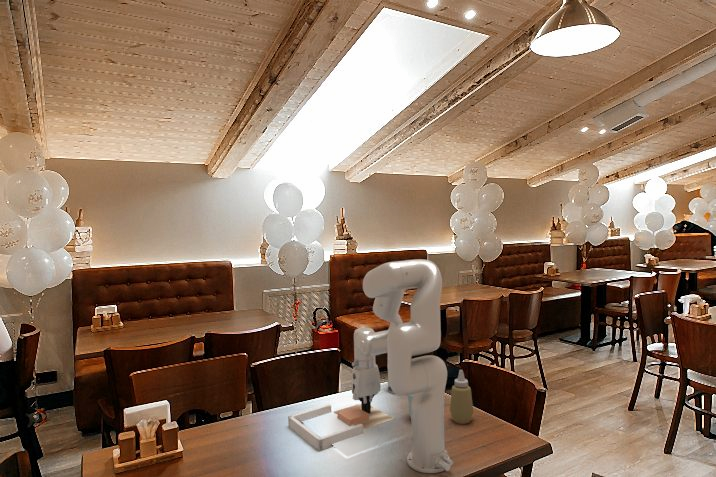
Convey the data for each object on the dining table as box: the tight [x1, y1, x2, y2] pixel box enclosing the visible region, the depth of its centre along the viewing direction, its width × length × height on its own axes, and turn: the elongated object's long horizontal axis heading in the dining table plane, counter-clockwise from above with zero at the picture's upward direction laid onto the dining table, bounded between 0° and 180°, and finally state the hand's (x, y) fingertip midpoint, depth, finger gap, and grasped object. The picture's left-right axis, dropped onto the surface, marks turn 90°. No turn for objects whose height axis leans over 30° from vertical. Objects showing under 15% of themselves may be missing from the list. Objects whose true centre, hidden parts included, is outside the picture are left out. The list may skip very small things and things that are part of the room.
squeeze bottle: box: [449, 369, 474, 425], centre depth 166 cm, size 8×8×18 cm
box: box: [287, 404, 364, 452], centre depth 162 cm, size 21×17×4 cm
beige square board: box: [333, 403, 395, 431], centre depth 171 cm, size 18×14×1 cm
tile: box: [336, 406, 369, 427], centre depth 169 cm, size 8×8×2 cm
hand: (366, 412), depth 172 cm, fingers closed
